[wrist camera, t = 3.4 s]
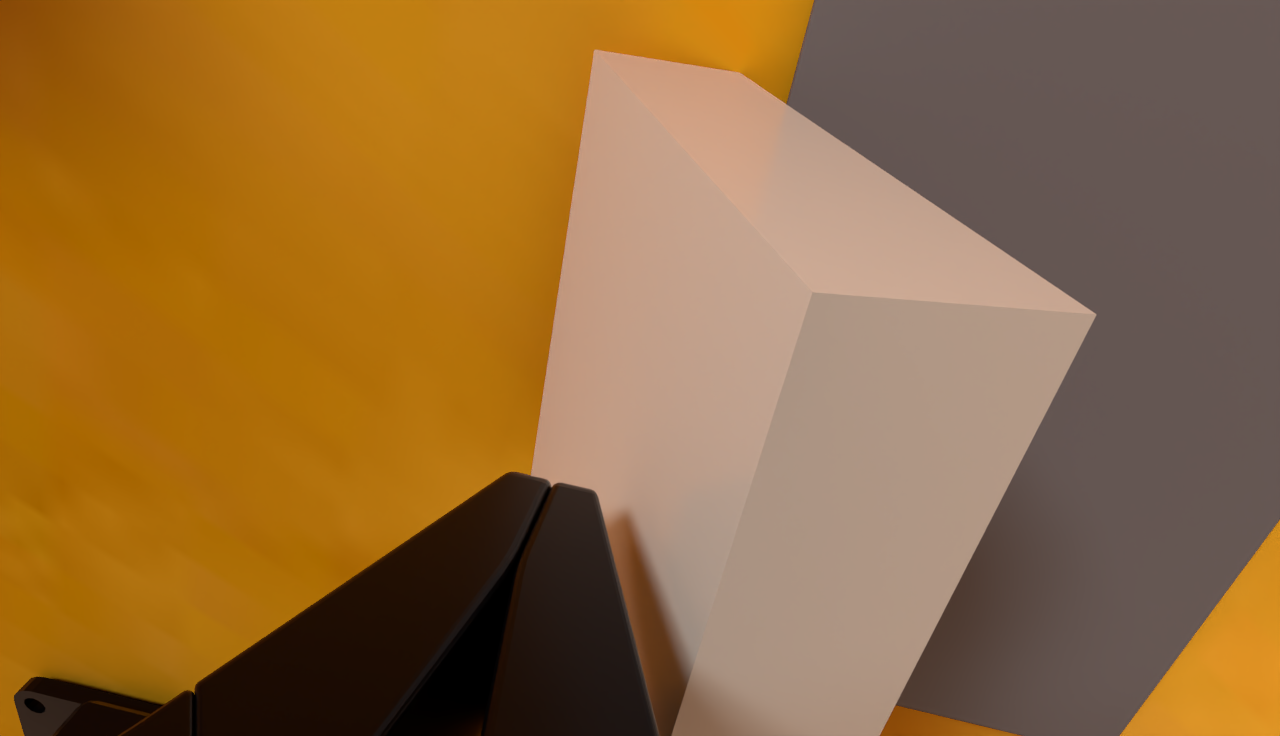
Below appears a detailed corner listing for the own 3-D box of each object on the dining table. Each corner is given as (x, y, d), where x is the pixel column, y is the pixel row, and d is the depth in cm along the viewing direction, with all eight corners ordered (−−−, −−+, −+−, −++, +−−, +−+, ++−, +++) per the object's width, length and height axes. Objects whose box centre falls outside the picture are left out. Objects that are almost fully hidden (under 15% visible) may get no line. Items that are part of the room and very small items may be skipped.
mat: (1099, 741, 16) (1104, 755, 15) (645, 632, 16) (643, 643, 16) (1685, -66, 9) (1714, -66, 9) (876, -234, 9) (880, -239, 9)
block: (645, 482, 14) (796, 903, 9) (530, 482, 14) (608, 933, 8) (743, 73, 11) (1102, 314, 5) (594, 49, 10) (812, 291, 5)
